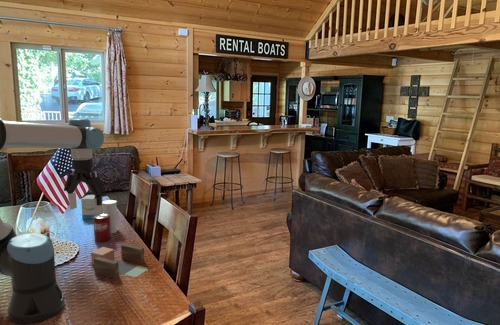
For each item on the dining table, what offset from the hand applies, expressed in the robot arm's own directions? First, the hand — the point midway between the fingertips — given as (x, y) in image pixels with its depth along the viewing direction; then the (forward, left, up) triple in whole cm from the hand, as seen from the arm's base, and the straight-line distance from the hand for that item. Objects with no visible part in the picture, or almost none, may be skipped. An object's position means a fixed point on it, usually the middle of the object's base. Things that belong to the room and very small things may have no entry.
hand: (85, 210), depth 146 cm
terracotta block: (0, -8, -20) cm, 22 cm away
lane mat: (0, -16, -20) cm, 26 cm away
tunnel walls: (0, -17, -20) cm, 27 cm away
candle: (+28, +15, -21) cm, 38 cm away
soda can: (+17, +9, -21) cm, 28 cm away
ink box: (+40, +40, -21) cm, 60 cm away
